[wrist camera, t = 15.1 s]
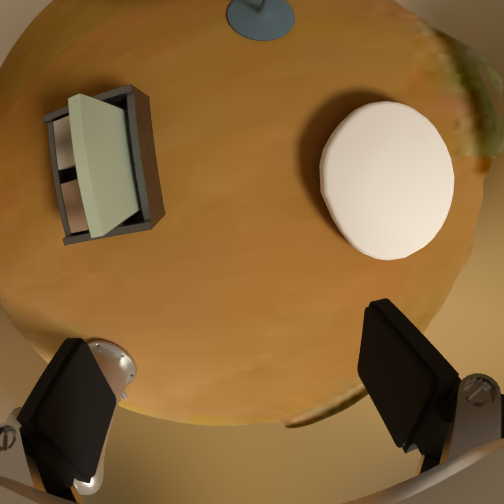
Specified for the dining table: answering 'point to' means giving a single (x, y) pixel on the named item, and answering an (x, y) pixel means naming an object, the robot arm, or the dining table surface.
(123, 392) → the robot arm
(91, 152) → the sage sheet
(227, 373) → the dining table surface
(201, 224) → the dining table surface
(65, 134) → the brown offcut
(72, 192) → the walnut offcut
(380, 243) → the plate
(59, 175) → the rack
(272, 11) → the cocktail glass
